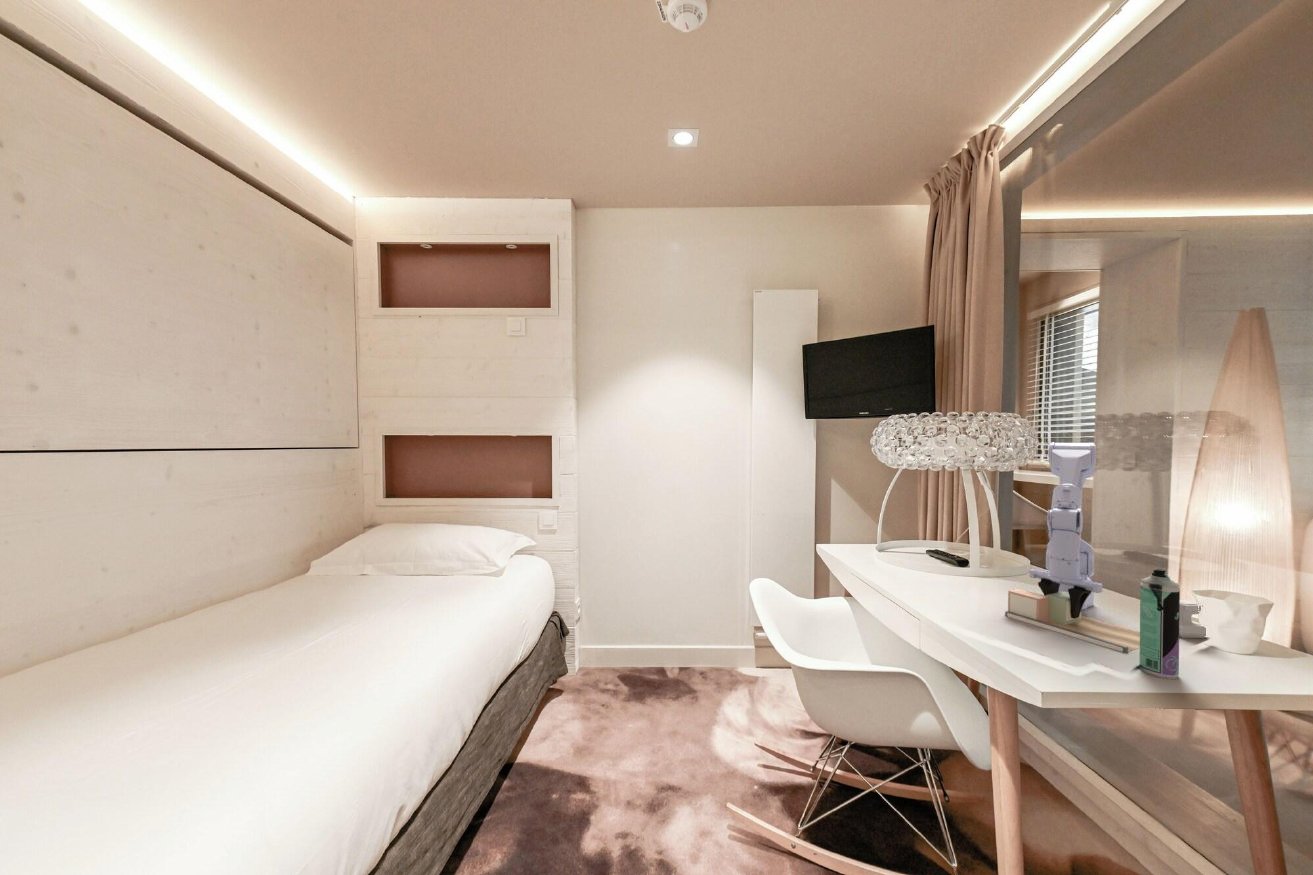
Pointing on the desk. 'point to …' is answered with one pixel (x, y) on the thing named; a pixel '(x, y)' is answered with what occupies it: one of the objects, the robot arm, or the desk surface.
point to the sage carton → (1061, 608)
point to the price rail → (1068, 632)
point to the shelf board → (1105, 632)
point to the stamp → (1190, 621)
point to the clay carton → (1029, 604)
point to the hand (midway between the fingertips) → (1063, 614)
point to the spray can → (1159, 625)
